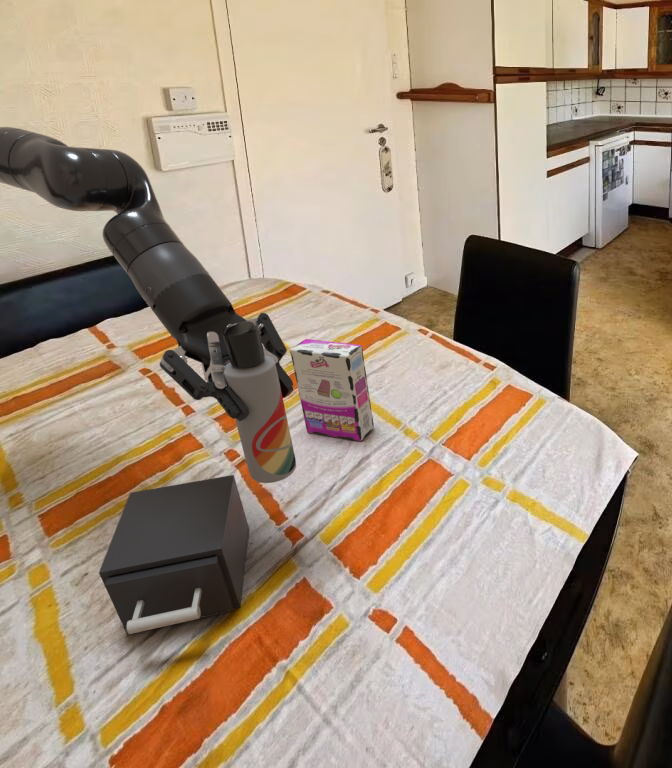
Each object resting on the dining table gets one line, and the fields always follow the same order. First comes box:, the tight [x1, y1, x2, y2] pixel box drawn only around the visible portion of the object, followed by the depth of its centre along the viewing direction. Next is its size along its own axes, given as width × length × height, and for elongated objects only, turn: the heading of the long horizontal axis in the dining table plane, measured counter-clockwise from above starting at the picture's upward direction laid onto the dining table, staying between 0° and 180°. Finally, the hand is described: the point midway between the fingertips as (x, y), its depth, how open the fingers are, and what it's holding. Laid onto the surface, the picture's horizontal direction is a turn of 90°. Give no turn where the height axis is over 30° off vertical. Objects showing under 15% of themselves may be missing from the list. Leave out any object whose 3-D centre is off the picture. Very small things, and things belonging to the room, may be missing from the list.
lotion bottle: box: [223, 321, 297, 484], centre depth 74 cm, size 6×6×20 cm
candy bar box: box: [289, 338, 375, 442], centre depth 107 cm, size 11×5×16 cm, turn 73°
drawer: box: [104, 555, 234, 635], centre depth 75 cm, size 18×11×8 cm, turn 16°
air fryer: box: [98, 474, 250, 628], centre depth 78 cm, size 15×13×10 cm
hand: (267, 405), depth 73 cm, fingers closed on lotion bottle, 5 cm apart
